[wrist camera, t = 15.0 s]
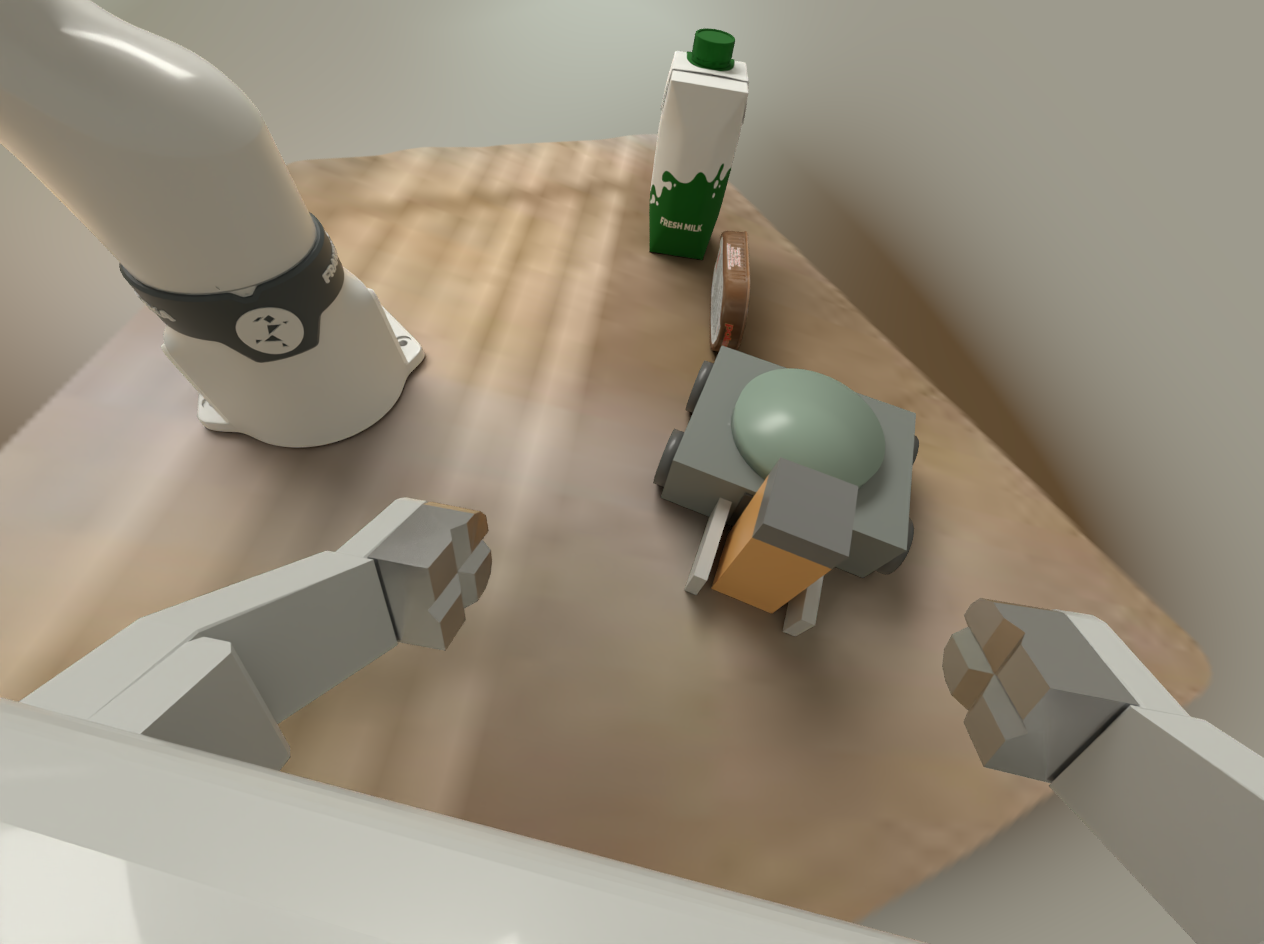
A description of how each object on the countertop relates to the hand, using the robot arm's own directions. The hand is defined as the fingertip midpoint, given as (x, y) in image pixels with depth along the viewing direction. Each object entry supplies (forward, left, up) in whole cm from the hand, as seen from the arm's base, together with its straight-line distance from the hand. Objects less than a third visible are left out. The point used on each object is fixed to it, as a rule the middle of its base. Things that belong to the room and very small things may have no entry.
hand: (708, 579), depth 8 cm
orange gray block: (-2, +15, -28) cm, 31 cm away
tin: (-27, +32, -28) cm, 50 cm away
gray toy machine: (-6, +21, -27) cm, 35 cm away
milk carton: (-42, +37, -28) cm, 63 cm away
